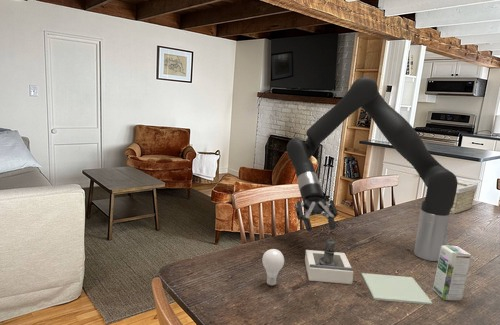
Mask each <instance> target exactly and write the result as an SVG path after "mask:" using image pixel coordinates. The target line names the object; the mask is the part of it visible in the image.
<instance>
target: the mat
mask: <svg viewBox="0 0 500 325" xmlns="http://www.w3.org/2000/svg"><path fill="white" fill-rule="evenodd" d="M361 277H362V279H363V281H364V283H365V285H366V286H367V288H368V291H369V292H370V294H371V296H372V298H373V300H374V301H386V302H396V303H408V304H418V305H431V306H432V305H433V302H432V300H431V298H430V297H429V296H428V295H427V293H425V291H424V290H423V289H422V288H421V286H420V285H419V284H418V283H417V281H416V280H415V278H414V277H412V276H411V277H410V276H403V275H402V276H398V275H388V274H377V273H367V272H366V273H365V272H361Z"/></svg>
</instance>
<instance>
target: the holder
mask: <svg viewBox="0 0 500 325" xmlns="http://www.w3.org/2000/svg"><path fill="white" fill-rule="evenodd" d="M323 257H324V250H314V249H313V250H312V249H311V250H310V249H305V257H304V264H305V268H306V273H307V278H308V281H309V282H310V281H311V282H312V281H313V282H322V283H323V282H325V283H333V284H334V283H336V284H343V285H344V284H346V285H353V279H354V267H352V266H351V264H350V262H349V260H348V257H347V256H346V253H344V252H339V251H338V252H337V251H335V253H334V260H336V261H337V265H336V266H326V265H320V262H319V259H320V258H323Z"/></svg>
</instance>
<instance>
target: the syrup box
mask: <svg viewBox="0 0 500 325" xmlns="http://www.w3.org/2000/svg"><path fill="white" fill-rule="evenodd" d="M471 258H472V254H471V253H469V252H467V251H465V250H464V249H462V248H461V247H460V246H456V245H448V244H447V245H446V246H441V250H440V255H439V260H438V261H437V265H436V266H437V267H436V271H435V278H434V283H433V286H432V290H433V292H435V293H436V294H437V295H438V296H439V297H440V298H441V299H442V300H443V301H462V300H463V298H464V297H463V295H464V291H465V287H466V282H467V277H468V274H469V273H468V272H469V268H470V262H471Z"/></svg>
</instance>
